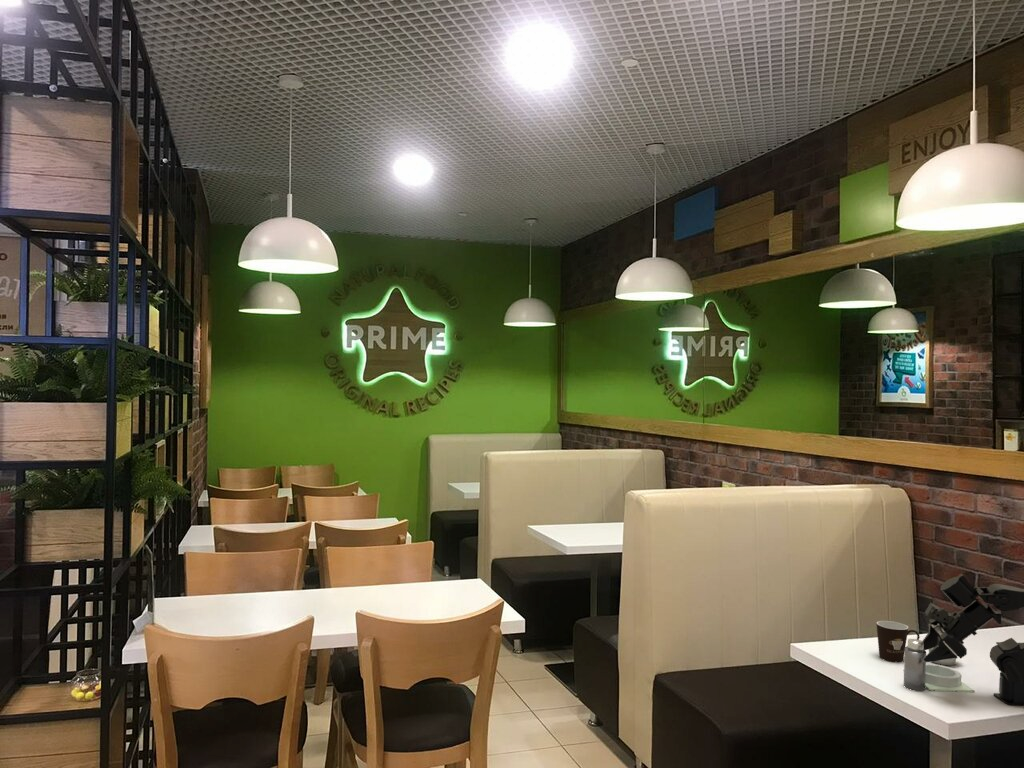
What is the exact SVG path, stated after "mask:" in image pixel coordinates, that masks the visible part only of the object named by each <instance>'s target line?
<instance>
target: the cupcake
mask: <svg viewBox="0 0 1024 768" xmlns="http://www.w3.org/2000/svg"><path fill="white" fill-rule="evenodd" d="M932 649H933V648H931V649H928V650H927V651H928V653H929V652H930V651H931V650H932ZM956 656H957V655H956ZM957 657H958V656H957ZM957 659H958V658H952V659H944V660H938V661H933V662H932V663H933V664H934V663H935V664H937V665H940V664H941V665H942V666H946V665H947V666H946V667H950V666H951V667H952V666H954V665H956V662H957Z"/></svg>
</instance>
